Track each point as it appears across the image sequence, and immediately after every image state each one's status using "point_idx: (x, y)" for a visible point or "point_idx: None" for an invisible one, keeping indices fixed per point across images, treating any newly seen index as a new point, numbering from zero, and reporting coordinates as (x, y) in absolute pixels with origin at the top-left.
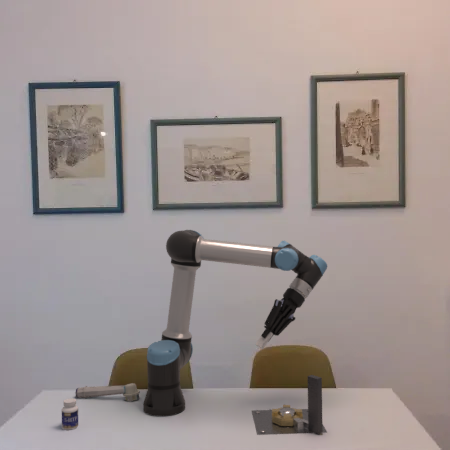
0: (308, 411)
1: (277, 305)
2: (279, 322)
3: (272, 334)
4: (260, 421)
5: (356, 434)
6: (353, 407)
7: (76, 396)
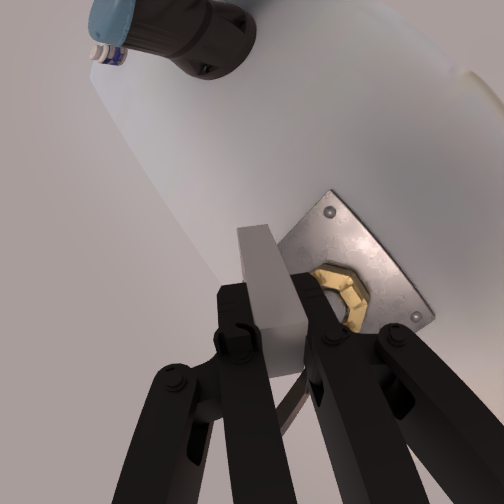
0: (298, 378)
1: None
2: (344, 488)
3: (292, 367)
4: (291, 251)
5: None
6: (488, 371)
7: None
